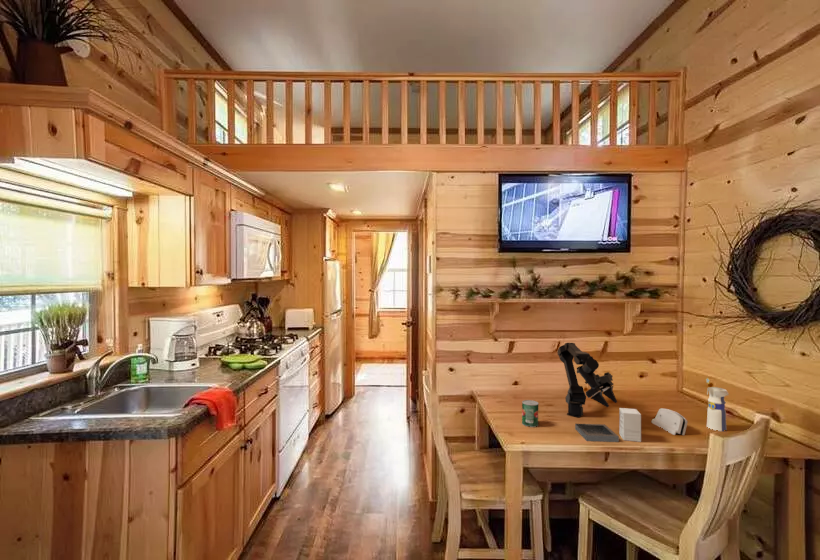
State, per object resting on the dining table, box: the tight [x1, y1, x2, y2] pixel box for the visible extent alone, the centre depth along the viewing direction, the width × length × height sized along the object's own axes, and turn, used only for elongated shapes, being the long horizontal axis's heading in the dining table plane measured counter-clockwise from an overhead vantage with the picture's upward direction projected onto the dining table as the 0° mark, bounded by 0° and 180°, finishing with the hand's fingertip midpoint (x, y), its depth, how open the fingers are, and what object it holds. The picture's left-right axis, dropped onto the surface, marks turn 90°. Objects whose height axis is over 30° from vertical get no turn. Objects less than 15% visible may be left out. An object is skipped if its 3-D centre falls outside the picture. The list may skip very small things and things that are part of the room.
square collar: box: [574, 423, 620, 443], centre depth 180 cm, size 14×14×3 cm
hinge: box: [651, 407, 689, 436], centre depth 189 cm, size 17×5×10 cm, turn 2°
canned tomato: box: [521, 399, 540, 428], centre depth 193 cm, size 8×8×11 cm
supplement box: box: [618, 407, 642, 443], centre depth 177 cm, size 7×7×13 cm
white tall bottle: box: [705, 377, 730, 432], centre depth 189 cm, size 8×9×25 cm
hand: (612, 404), depth 183 cm, fingers open, 9 cm apart
